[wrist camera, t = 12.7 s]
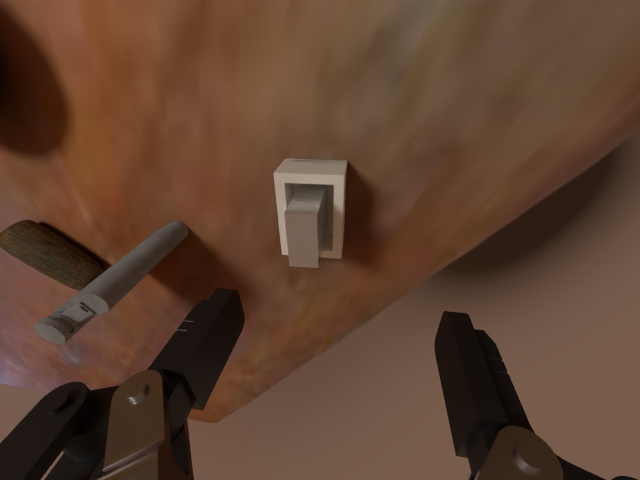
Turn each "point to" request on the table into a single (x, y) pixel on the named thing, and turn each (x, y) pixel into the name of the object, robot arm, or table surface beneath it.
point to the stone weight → (50, 254)
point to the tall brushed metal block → (307, 225)
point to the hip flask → (111, 285)
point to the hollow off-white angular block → (314, 173)
